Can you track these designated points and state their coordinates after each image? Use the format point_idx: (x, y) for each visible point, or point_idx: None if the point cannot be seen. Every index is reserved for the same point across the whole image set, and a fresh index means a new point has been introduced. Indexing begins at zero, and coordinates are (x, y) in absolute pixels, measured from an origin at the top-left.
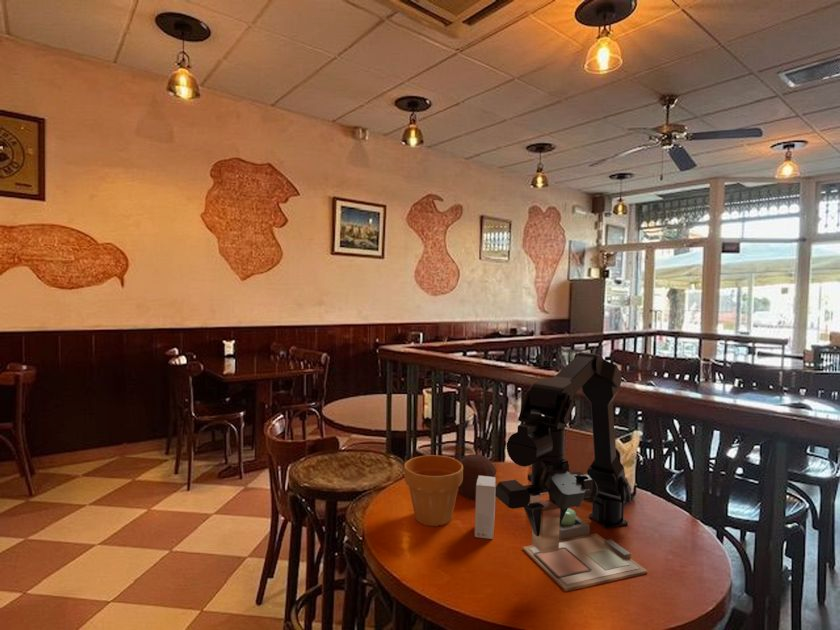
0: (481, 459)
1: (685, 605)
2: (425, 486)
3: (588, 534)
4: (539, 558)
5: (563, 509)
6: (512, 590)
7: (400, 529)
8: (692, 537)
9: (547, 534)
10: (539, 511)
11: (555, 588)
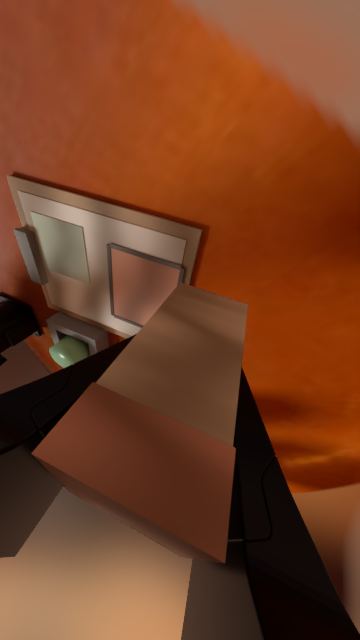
0: None
1: None
2: None
3: (60, 312)
4: None
5: (24, 413)
6: (298, 301)
7: (286, 468)
8: None
9: (215, 343)
10: (259, 571)
11: (212, 251)
